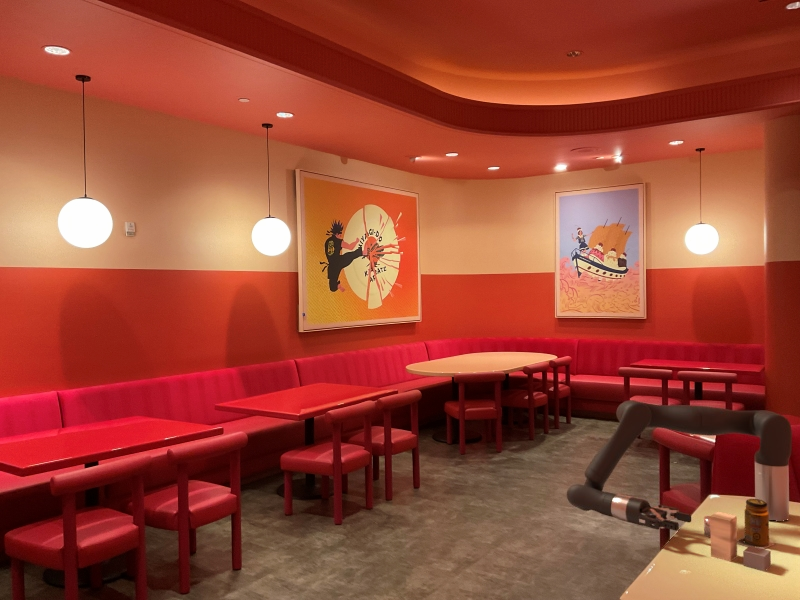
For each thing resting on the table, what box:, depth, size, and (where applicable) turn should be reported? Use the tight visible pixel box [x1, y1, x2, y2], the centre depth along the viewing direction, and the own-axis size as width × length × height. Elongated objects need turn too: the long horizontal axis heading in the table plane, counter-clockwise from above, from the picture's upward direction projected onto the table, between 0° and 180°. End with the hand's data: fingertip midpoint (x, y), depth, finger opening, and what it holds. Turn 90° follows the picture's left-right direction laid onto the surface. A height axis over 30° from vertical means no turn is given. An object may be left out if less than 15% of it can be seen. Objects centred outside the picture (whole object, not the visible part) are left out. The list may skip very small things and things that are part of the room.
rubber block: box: [742, 546, 772, 573], centre depth 166 cm, size 5×5×4 cm
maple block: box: [709, 511, 738, 563], centre depth 172 cm, size 5×5×11 cm
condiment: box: [737, 498, 776, 550], centre depth 180 cm, size 7×8×12 cm
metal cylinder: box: [703, 515, 711, 538], centre depth 187 cm, size 4×4×5 cm
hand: (684, 522), depth 180 cm, fingers open, 8 cm apart
